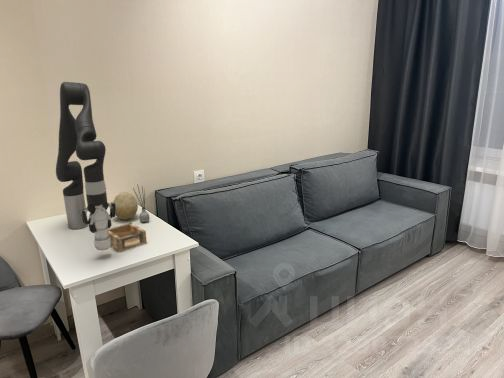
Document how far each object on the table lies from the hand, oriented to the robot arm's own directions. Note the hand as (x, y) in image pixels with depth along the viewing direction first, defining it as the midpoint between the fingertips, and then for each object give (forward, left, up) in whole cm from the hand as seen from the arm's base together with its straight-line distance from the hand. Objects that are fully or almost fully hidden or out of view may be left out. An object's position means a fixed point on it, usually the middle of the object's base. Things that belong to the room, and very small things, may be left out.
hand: (100, 229), depth 154 cm
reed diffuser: (-25, +31, -12) cm, 42 cm away
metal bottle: (0, 0, -9) cm, 9 cm away
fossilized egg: (-35, +27, -12) cm, 46 cm away
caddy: (-7, +13, -12) cm, 19 cm away
